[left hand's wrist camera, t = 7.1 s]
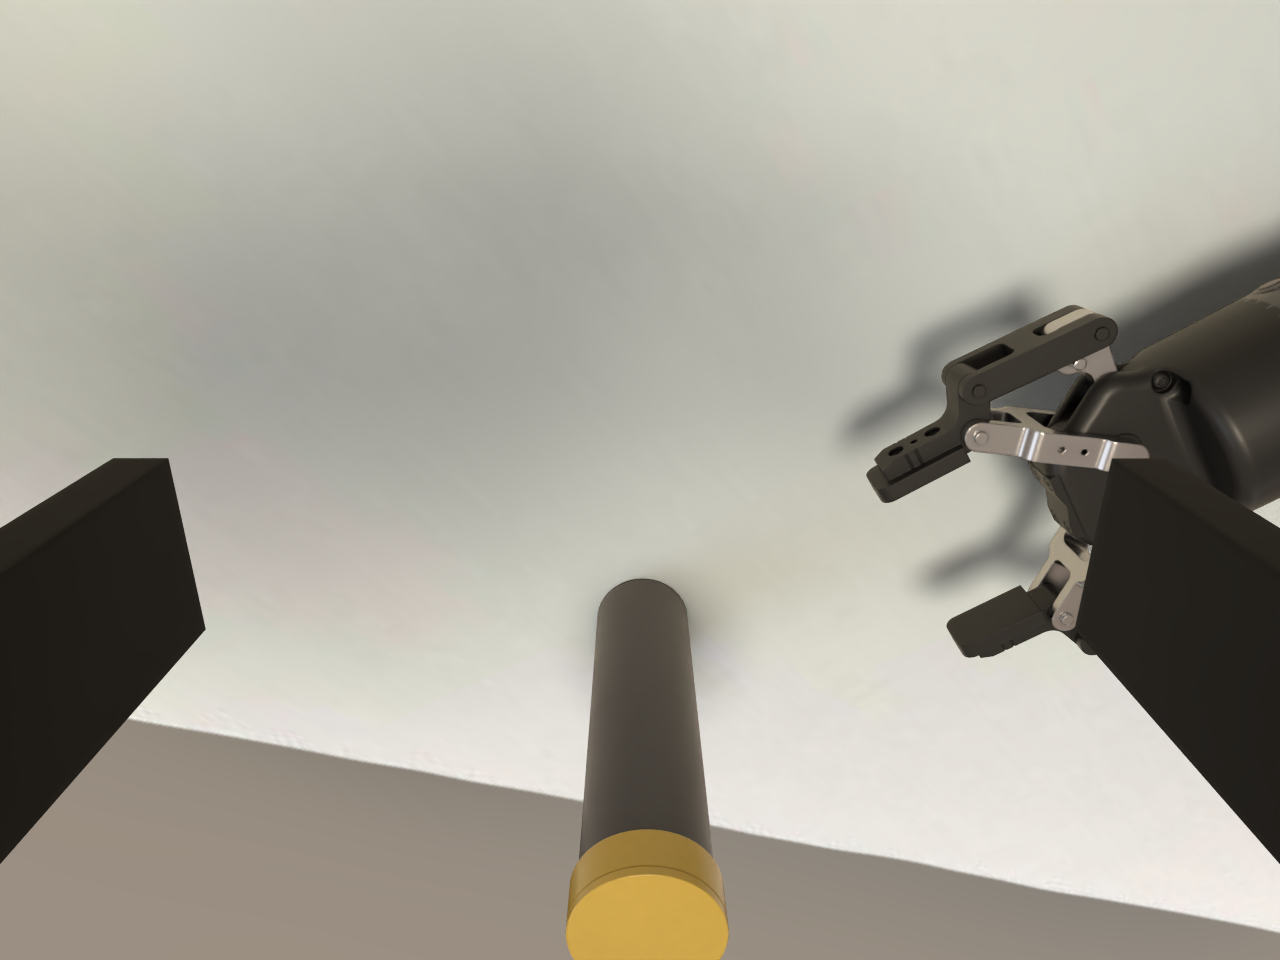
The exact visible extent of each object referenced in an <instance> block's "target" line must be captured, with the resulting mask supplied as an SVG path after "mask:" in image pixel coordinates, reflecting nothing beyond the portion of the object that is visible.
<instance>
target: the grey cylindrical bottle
mask: <svg viewBox="0 0 1280 960" xmlns="http://www.w3.org/2000/svg"><path fill="white" fill-rule="evenodd" d="M640 829H653V830H663V831H668V832H672V833H676V834H679V835H682V836H684V837H686V838H689V839H690V840H692V841H694V842H696V843H697V844H699V845H700V846H701V847H703V848H704V849H705V850H706V851H707V852H708V853H709V854H710V855H711V856H712V858H713V853H712V843H711V834H710V825H709V815H708V806H707V797H706V787H705V778H704V769H703V760H702V750H701V741H700V732H699V722H698V713H697V704H696V694H695V685H694V676H693V666H692V657H691V648H690V639H689V629H688V620H687V612H686V608H685V605H684V603H683V601H682V599H681V598H680V596H679V595H678V594H677V593H676V592H675V591H674V590H673V589H671V588H670V587H668V586H667V585H665V584H663V583H660V582H657V581H653V580H646V579H638V580H632V581H628V582H625V583H622V584H620V585H619V586H617V587H615V588H614V589H612V590H611V591H610V592H609V593H608V594H607V595H606V596H605V598H604V599H603V601H602V603H601V605H600V607H599V611H598V619H597V632H596V646H595V659H594V672H593V685H592V698H591V711H590V724H589V737H588V750H587V763H586V776H585V790H584V803H583V816H582V829H581V842H580V855H579V860H580V859H581V857H582V856H583V855H584V854H585V853H586V852H587V851H588V850H589V849H590V848H591V847H593V846H594V845H595V844H597V843H598V842H600V841H602V840H604V839H606V838H608V837H610V836H613V835H616V834H618V833H621V832H626V831H631V830H640Z"/></svg>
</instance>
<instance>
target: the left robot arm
mask: <svg viewBox="0 0 1280 960" xmlns="http://www.w3.org/2000/svg"><path fill="white" fill-rule="evenodd" d="M204 631H205V624H204V620H203V615H202V611H201V606H200V601H199V597H198V592H197V588H196V583H195V578H194V574H193V569H192V565H191V560H190V556H189V551H188V546H187V542H186V537H185V533H184V528H183V523H182V519H181V514H180V510H179V505H178V500H177V496H176V491H175V487H174V482H173V478H172V473H171V468H170V464H169V459H168V458H113V459H111V460H110V461H108V462H107V463H105V464H103V465H102V466H100V467H98V468H97V469H95V470H94V471H92V472H90V473H89V474H87V475H85V476H84V477H82V478H81V479H79V480H77V481H76V482H74V483H72V484H71V485H69V486H68V487H66V488H64V489H63V490H61V491H60V492H58V493H56V494H55V495H53V496H51V497H50V498H48V499H47V500H45V501H43V502H42V503H40V504H38V505H37V506H35V507H34V508H32V509H30V510H29V511H27V512H26V513H24V514H22V515H21V516H19V517H17V518H16V519H14V520H13V521H11V522H9V523H8V524H6V525H4V526H3V527H1V528H0V864H1V862H2V861H3V860H4V859H5V858H6V857H7V856H8V854H9V853H10V852H11V851H12V850H13V849H14V848H15V846H16V845H17V844H18V843H19V842H20V841H21V840H22V838H23V837H24V836H25V835H26V834H27V833H28V832H29V830H30V829H31V828H32V827H33V826H34V825H35V824H36V822H37V821H38V820H39V819H40V818H41V817H42V816H43V814H44V813H45V812H46V811H47V810H48V809H49V808H50V806H51V805H52V804H53V803H54V802H55V801H56V800H57V798H58V797H59V796H60V795H61V794H62V793H63V792H64V790H65V789H66V788H67V787H68V786H69V785H70V784H71V782H72V781H73V780H74V779H75V778H76V777H77V776H78V774H79V773H80V772H81V771H82V770H83V769H84V768H85V766H86V765H87V764H88V763H89V762H90V761H91V760H92V758H93V757H94V756H95V755H96V754H97V753H98V752H99V751H100V749H101V748H102V747H103V746H104V745H105V744H106V742H107V741H108V740H109V739H110V738H111V737H112V736H113V734H114V733H115V732H116V731H117V730H118V729H119V728H120V727H121V725H122V724H123V723H124V722H125V721H126V720H127V719H128V717H129V716H130V715H131V714H132V713H133V712H134V711H135V709H136V708H137V707H138V706H139V705H140V704H141V703H142V701H143V700H144V699H145V698H146V697H147V696H148V695H149V693H150V692H151V691H152V690H153V689H154V688H155V687H156V685H157V684H158V683H159V682H160V681H161V680H162V679H163V677H164V676H165V675H166V674H167V673H168V672H169V671H170V669H171V668H172V667H173V666H174V665H175V664H176V663H177V661H178V660H179V659H180V658H181V657H182V656H183V655H184V653H185V652H186V651H187V650H188V649H189V648H190V647H191V645H192V644H193V643H194V642H195V641H196V640H197V639H198V637H199V636H200V635H201V634H202V633H203V632H204ZM1075 631H1076V632H1077V633H1078V634H1079V635H1080V636H1081V637H1082V639H1083V640H1084V641H1085V642H1086V643H1087V644H1088V645H1089V647H1090V648H1091V649H1092V650H1093V651H1094V652H1095V653H1096V655H1097V656H1098V657H1099V658H1100V659H1101V660H1102V661H1103V663H1104V664H1105V665H1106V666H1107V667H1108V668H1109V669H1110V671H1111V672H1112V673H1113V674H1114V675H1115V676H1116V677H1117V679H1118V680H1119V681H1120V682H1121V683H1122V684H1123V685H1124V687H1125V688H1126V689H1127V690H1128V691H1129V692H1130V693H1131V695H1132V696H1133V697H1134V698H1135V699H1136V700H1137V701H1138V703H1139V704H1140V705H1141V706H1142V707H1143V708H1144V709H1145V711H1146V712H1147V713H1148V714H1149V715H1150V716H1151V717H1152V719H1153V720H1154V721H1155V722H1156V723H1157V724H1158V725H1159V727H1160V728H1161V729H1162V730H1163V731H1164V732H1165V733H1166V735H1167V736H1168V737H1169V738H1170V739H1171V740H1172V741H1173V743H1174V744H1175V745H1176V746H1177V747H1178V748H1179V749H1180V750H1181V752H1182V753H1183V754H1184V755H1185V756H1186V757H1187V758H1188V760H1189V761H1190V762H1191V763H1192V764H1193V765H1194V766H1195V768H1196V769H1197V770H1198V771H1199V772H1200V773H1201V774H1202V776H1203V777H1204V778H1205V779H1206V780H1207V781H1208V782H1209V784H1210V785H1211V786H1212V787H1213V788H1214V789H1215V790H1216V792H1217V793H1218V794H1219V795H1220V796H1221V797H1222V798H1223V800H1224V801H1225V802H1226V803H1227V804H1228V805H1229V806H1230V808H1231V809H1232V810H1233V811H1234V812H1235V813H1236V814H1237V816H1238V817H1239V818H1240V819H1241V820H1242V821H1243V822H1244V824H1245V825H1246V826H1247V827H1248V828H1249V829H1250V830H1251V832H1252V833H1253V834H1254V835H1255V836H1256V837H1257V838H1258V840H1259V841H1260V842H1261V843H1262V844H1263V845H1264V846H1265V848H1266V849H1267V850H1268V851H1269V852H1270V853H1271V854H1272V856H1273V857H1274V858H1275V859H1276V860H1277V861H1278V862H1279V864H1280V528H1279V527H1277V526H1276V525H1274V524H1272V523H1271V522H1269V521H1267V520H1266V519H1264V518H1263V517H1261V516H1259V515H1258V514H1256V513H1254V512H1253V511H1251V510H1250V509H1248V508H1246V507H1245V506H1243V505H1242V504H1240V503H1238V502H1237V501H1235V500H1233V499H1232V498H1230V497H1229V496H1227V495H1225V494H1224V493H1222V492H1220V491H1219V490H1217V489H1216V488H1214V487H1212V486H1211V485H1209V484H1208V483H1206V482H1204V481H1203V480H1201V479H1199V478H1198V477H1196V476H1195V475H1193V474H1191V473H1190V472H1188V471H1186V470H1185V469H1183V468H1182V467H1180V466H1178V465H1177V464H1175V463H1173V462H1172V461H1170V460H1169V459H1167V458H1112V459H1111V464H1110V468H1109V473H1108V478H1107V482H1106V487H1105V491H1104V496H1103V501H1102V505H1101V510H1100V514H1099V519H1098V523H1097V528H1096V533H1095V537H1094V542H1093V546H1092V551H1091V556H1090V560H1089V565H1088V569H1087V574H1086V579H1085V583H1084V588H1083V592H1082V597H1081V601H1080V606H1079V611H1078V615H1077V620H1076V624H1075Z"/></svg>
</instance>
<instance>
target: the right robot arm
mask: <svg viewBox="0 0 1280 960" xmlns="http://www.w3.org/2000/svg"><path fill="white" fill-rule="evenodd" d="M1117 332H1118V328H1117V325H1116V323H1115V322H1114V321H1113V320H1112V319H1110V318H1108V317H1105V316H1103V315H1100V314H1098V313H1095V312H1093V311H1090V310H1087V309H1085V308H1082V307H1080V306H1077V305H1070V306H1067V307H1065V308H1062V309H1060V310H1058V311H1056V312H1054V313H1052V314H1050V315H1048V316H1046V317H1044V318H1041V319H1039V320H1037V321H1035V322H1033V323H1031V324H1029V325H1027V326H1025V327H1023V328H1020V329H1018V330H1016V331H1014V332H1012V333H1010V334H1008V335H1006V336H1004V337H1002V338H999V339H997V340H995V341H993V342H991V343H989V344H987V345H985V346H983V347H981V348H978V349H976V350H974V351H972V352H970V353H968V354H966V355H964V356H962V357H960V358H957V359H955V360H953V361H951V362H949V363H948V364H947V365H946V366H945V367H944V369H943V371H942V381H943V383H944V384H945V385H946V393H947V408H946V411H945V413H944V414H943V416H942V417H941V418H940V419H939V420H937V421H936V422H934V423H932V424H930V425H928V426H926V427H925V428H923V429H921V430H919V431H917V432H915V433H913V434H911V435H909V436H908V437H906V438H905V439H902V440H900V441H898V442H897V443H894V444H893V445H891V446H889V447H887V448H885V449H883V450H882V451H881V452H880V453H879V455H878V456H877V457H876V458H875V459H874V460H875V462H876V463H877V466H875V467H873V468H871V469H870V470H869V471H868V472H867V475H866V476H867V478H868V480H869V482H870V483H871V485H872V487H873V489H874V491H875V492H876V494H877V495H878V497H879V498H880V500H881V501H882V502H884V503H889V502H893V501H895V500H897V499H899V498H901V497H903V496H905V495H907V494H909V493H911V492H913V491H915V490H917V489H918V488H920V487H922V486H924V485H926V484H928V483H930V482H932V481H934V480H936V479H938V478H940V477H942V476H944V475H945V474H947V473H949V472H951V471H953V470H955V469H957V468H959V467H961V466H963V465H965V464H967V463H969V462H971V461H970V459H969V457H968V455H967V453H969V452H970V451H974V452H982V453H991V454H1001V455H1010V456H1017V457H1021V458H1023V459H1026V460H1029V462H1028V464H1029V466H1030V468H1031V470H1032V472H1033V474H1034V477H1035V478H1036V479H1037V480H1038V481H1039V482H1040V483H1041V484H1042V485H1043V486H1044V487H1045V489H1046V494H1047V503H1048V507H1049V509H1050V512H1051V514H1052V516H1053V518H1054V520H1055V521H1056V522H1057V523H1058V524H1059V525H1061V526H1060V528H1059V529H1058V531H1057V532H1056V534H1055V536H1054V537H1053V539H1052V540H1051V542H1050V545H1049V552H1050V555H1049V558H1048V559H1047V561H1046V562H1045V564H1044V565H1043V567H1042V569H1041V570H1040V572H1039V573H1038V575H1037V576H1036V578H1035V579H1034V581H1033V582H1032V584H1031V586H1030V587H1029V590H1028V592H1026V591H1025V590H1024V589H1023V588H1022V587H1021V586H1018V587H1016V588H1014V589H1011V590H1009V591H1007V592H1005V593H1003V594H1001V595H999V596H997V597H995V598H993V599H991V600H989V601H987V602H985V603H982V604H980V605H978V606H976V607H974V608H972V609H970V610H968V611H966V612H964V613H962V614H960V615H958V616H956V617H954V618H952V619H950V620H949V621H948V623H947V629H948V630H949V632H950V634H951V636H952V638H953V640H954V641H955V643H956V644H957V646H958V648H959V649H960V651H961V652H962V654H963V655H964V656H965V657H976V656H978V655H979V656H980V658H984V657H991V656H995V655H997V654H999V653H1001V652H1003V651H1004V650H1007V649H1009V648H1012V647H1013V646H1014V645H1015V646H1016V645H1018V644H1020V643H1022V642H1024V641H1026V640H1029V639H1031V638H1033V637H1035V636H1037V635H1039V634H1041V633H1044V632H1046V631H1051V630H1056V631H1060V632H1062V633H1064V634H1065V635H1066V636H1067V637H1069V638H1070V639H1071V640H1072V641H1073V642H1075V643H1076V644H1077V645H1078V646H1079V648H1080V649H1081V650H1082V651H1083V652H1084V653H1085V654H1088V655H1096V653H1095V652H1094V651H1093V650H1092V649H1091V648H1090V647H1089V645H1088V644H1087V643H1086V642H1085V641H1084V640H1083V639H1082V637H1081V636H1080V635H1079V634H1078V633H1077V632H1076V631H1075V624H1076V620H1077V615H1078V611H1079V606H1080V601H1081V597H1082V592H1083V588H1084V583H1085V579H1086V574H1087V569H1088V565H1089V560H1090V556H1091V554H1089V552H1088V549H1087V546H1088V545H1093V542H1094V537H1095V533H1096V528H1097V523H1098V519H1099V514H1100V510H1101V505H1102V501H1103V496H1104V491H1105V487H1106V482H1107V478H1108V473H1109V468H1110V464H1111V459H1112V458H1167V459H1169V460H1170V461H1172V462H1173V463H1175V464H1177V465H1178V466H1180V467H1182V468H1183V469H1185V470H1186V471H1188V472H1190V473H1191V474H1193V475H1195V476H1196V477H1198V478H1199V479H1201V480H1203V481H1204V482H1206V483H1208V484H1209V485H1211V486H1212V487H1214V488H1216V489H1217V490H1219V491H1220V492H1222V493H1224V494H1225V495H1227V496H1229V497H1230V498H1232V499H1233V500H1235V501H1237V502H1238V503H1240V504H1242V505H1243V506H1245V507H1246V508H1248V509H1250V510H1251V511H1253V510H1256V509H1258V508H1260V507H1262V506H1264V505H1266V504H1268V503H1270V502H1272V501H1274V500H1276V499H1279V498H1280V278H1279V279H1275V280H1272V281H1270V282H1267V283H1265V284H1263V285H1261V286H1260V287H1259V288H1257V289H1256V290H1254V291H1253V292H1252V293H1251V294H1249V295H1247V296H1245V297H1243V298H1241V299H1239V300H1237V301H1235V302H1233V303H1231V304H1229V305H1228V306H1226V307H1224V308H1222V309H1220V310H1218V311H1216V312H1214V313H1212V314H1210V315H1208V316H1206V317H1204V318H1203V319H1201V320H1199V321H1197V322H1195V323H1193V324H1191V325H1189V326H1187V327H1185V328H1183V329H1182V330H1180V331H1178V332H1176V333H1174V334H1172V335H1170V336H1168V337H1166V338H1164V339H1162V340H1161V341H1159V342H1157V343H1155V344H1153V345H1151V346H1149V347H1147V348H1145V349H1143V350H1142V351H1140V352H1139V353H1137V354H1136V355H1135V357H1134V358H1133V359H1132V360H1130V361H1128V362H1126V363H1122V364H1117V365H1116V364H1115V361H1114V358H1113V354H1112V351H1111V348H1110V345H1111V344H1112V343H1113V341H1114V340H1115V338H1116V336H1117ZM1054 371H1059V372H1061V373H1063V374H1066V375H1071V374H1075V373H1079V372H1082V373H1083V374H1081V375H1080V376H1079V377H1078V378H1077V380H1076V381H1075V382H1074V384H1073V386H1072V387H1071V389H1070V390H1069V392H1068V393H1067V395H1066V397H1065V398H1064V400H1063V401H1062V403H1061V404H1060V406H1059V408H1058V409H1057V411H1048V410H1039V409H1029V408H1020V407H1011V406H1004V407H1003V408H991V407H990V401H992V400H994V399H996V398H998V397H1001V396H1003V395H1005V394H1007V393H1009V392H1011V391H1013V390H1016V389H1018V388H1020V387H1022V386H1024V385H1026V384H1029V383H1031V382H1033V381H1035V380H1037V379H1039V378H1041V377H1044V376H1046V375H1048V374H1050V373H1052V372H1054Z"/></svg>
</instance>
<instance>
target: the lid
mask: <svg viewBox="0 0 1280 960" xmlns="http://www.w3.org/2000/svg"><path fill="white" fill-rule="evenodd" d="M728 934H729V929H728V921H727V912H726V903H725V895H724V886H723V879H722V875H721V872H720V869H719V867H718V865H717V863H716V862H715V860H714V859H713V858H712V856H711V855H710V854H709V853H708V852H707V851H706V850H705V849H704V848H703V847H701V846H700V845H699V844H697V843H696V842H694V841H692V840H690V839H689V838H686V837H684V836H682V835H679V834H676V833H672V832H668V831H663V830H653V829H640V830H631V831H626V832H621V833H618V834H616V835H613V836H610V837H608V838H606V839H604V840H602V841H600V842H598V843H597V844H595V845H594V846H593V847H591V848H590V849H589V850H588V851H587V852H586V853H585V854H584V855H583V856H582V857H581V859H580V860H579V862H578V863H577V864H576V866H575V868H574V870H573V873H572V876H571V880H570V889H569V901H568V913H567V924H566V941H567V945H568V949H569V951H570V953H571V955H572V957H573V959H574V960H720V958H721V957H722V955H723V953H724V951H725V948H726V946H727V942H728Z"/></svg>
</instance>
